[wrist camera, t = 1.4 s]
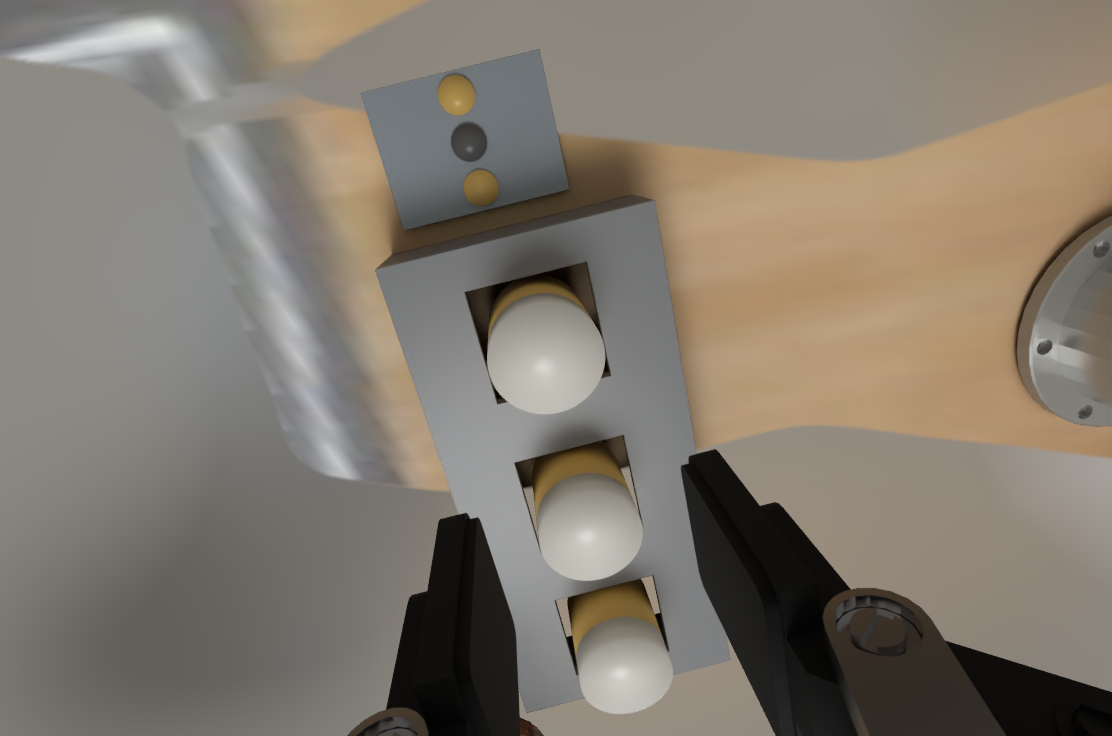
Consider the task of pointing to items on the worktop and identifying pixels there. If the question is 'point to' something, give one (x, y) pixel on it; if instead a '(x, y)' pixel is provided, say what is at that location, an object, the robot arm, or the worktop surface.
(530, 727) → the sauce bottle
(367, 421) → the worktop surface
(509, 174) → the card
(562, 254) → the button board
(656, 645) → the button
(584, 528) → the button middle
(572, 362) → the button
